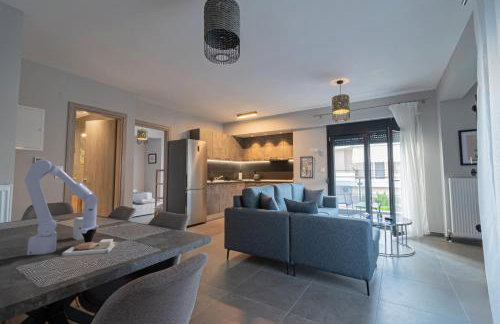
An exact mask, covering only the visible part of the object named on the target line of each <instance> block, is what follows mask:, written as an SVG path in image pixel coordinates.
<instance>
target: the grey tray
mask: <svg viewBox="0 0 500 324" xmlns="http://www.w3.org/2000/svg"><path fill="white" fill-rule="evenodd" d="M75 247H76V246H73V245H72V246H71V247H69V248H68V249H66V250H64V251H63V252H61V257H71V256H81V255H82V256H83V255H84V256H85V255H97V254H108V253H110V252H111V250H112V249H113V248H114V247H115V246H114V244H111V245H110V246H109V247H106V248H105V249H104V248H103V249H91V250H90V249H89V250H88V249H87V250H76V249H75ZM74 250H75V251H74Z"/></svg>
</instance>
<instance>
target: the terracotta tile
mask: <svg viewBox="0 0 500 324" xmlns="http://www.w3.org/2000/svg"><path fill="white" fill-rule="evenodd" d="M93 243H94V241H92V242H85V241H84V242H83V241H82V242H81V243H79V244H77V246H78V247H77V249H76V251H80V250H88V249H89V250H90V249H92V248H91V247H92V246H93Z"/></svg>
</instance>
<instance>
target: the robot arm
mask: <svg viewBox="0 0 500 324" xmlns="http://www.w3.org/2000/svg"><path fill="white" fill-rule="evenodd" d="M47 174H49V175H51V176H52V175H53V176H55V177H58V178H59V179H60V180H61V181H63V182H64V183H65V184H66V185H67V186H69V187H70V192H71V193H72V194H73V195H75V196H76V198H78V199H79V200H83V203H84V204H83V210H82V211H83V212H82V214H83V215H82V217H83V225H82V229H81V234H82V235H83V238H84V239H83V241H84V242H93V239H94V236H95V234H96V232H97V228H99V225H97V216H98V215H97V214H98V208H97V206H98V202H99V199H98V196H97V195H96V194H95V193H94V191H92V190H90V189H89V188H88V187H87V185H86V184H85V183H82V182H76V181H75V180H74V179H73V178H72V177H71V176H70V175H68V174H67V173H66V172H65V171H64V170H63V169H62V168H60V167H59V166H58V165H55V164H54V163H53V162H51V161H50V160H47V159H44V158H41V159H38V160H36V161H35V162H33V163H32V164H31V165H30V167H29V169H28V171H27V173H26V175H25V178H24V183H25V185H26V188H27V192H28V195H29V197H30V201H31V204H32V207H33V209H34V213H35V215H36V222H37V228H36V229H37V231H36V232H37V233H36V235H32V236H31V237H30V238H29V239H28V241H27V252H26V256H30V255H31V256H32V255H46V254H52V253H54V252H56V250H57V242H58V241H57V239H58V238H57V237H58V232H57V231H56V229H57V225H58V224H57V221H56V220H55V219H54V218H53V216H52V214H51V212H50V209H49V207H48V206H49V205H48V203H47V200H46V197H45V194H44V191H43V187H42V185H41V180H42V179H43V178H44V177H45V176H46V175H47Z"/></svg>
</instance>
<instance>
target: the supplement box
mask: <svg viewBox="0 0 500 324" xmlns="http://www.w3.org/2000/svg"><path fill="white" fill-rule="evenodd" d="M82 225H83V216H79V217H74V218H73V227H72V228H73V229H72V239H73V240H76V241H80V240H84V238H83V235H82V234H81V229H82Z"/></svg>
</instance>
